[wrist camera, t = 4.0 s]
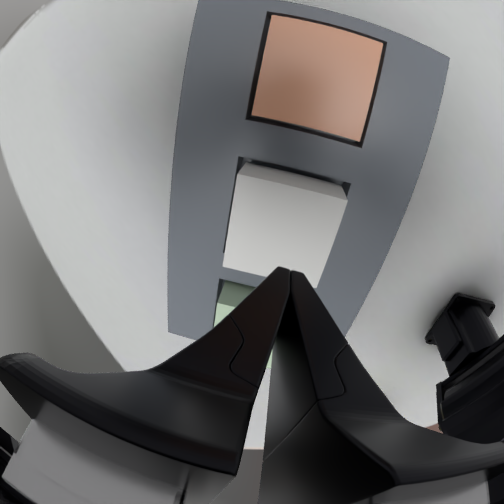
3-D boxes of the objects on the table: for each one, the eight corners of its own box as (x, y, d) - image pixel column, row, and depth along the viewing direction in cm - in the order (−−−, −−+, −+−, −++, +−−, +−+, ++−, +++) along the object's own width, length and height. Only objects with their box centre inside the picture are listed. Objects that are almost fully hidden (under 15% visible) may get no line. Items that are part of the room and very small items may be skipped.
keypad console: (423, 61, 14) (449, 57, 10) (324, 335, 27) (325, 368, 24) (218, 11, 14) (200, -6, 11) (182, 302, 27) (168, 332, 24)
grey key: (341, 185, 16) (347, 200, 14) (315, 264, 19) (316, 288, 17) (245, 162, 16) (237, 174, 14) (231, 245, 19) (222, 266, 17)
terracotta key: (371, 49, 12) (383, 43, 10) (351, 135, 15) (359, 141, 13) (275, 25, 13) (272, 14, 11) (258, 111, 16) (251, 114, 14)
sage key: (302, 297, 20) (302, 322, 18) (283, 347, 23) (281, 370, 21) (225, 280, 21) (217, 302, 19) (217, 331, 24) (210, 354, 21)
